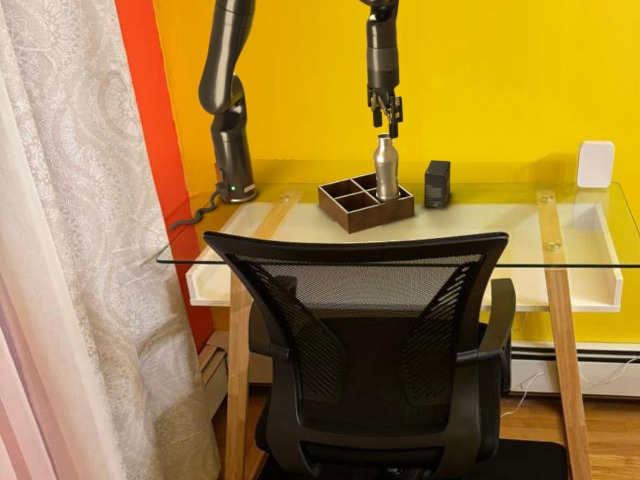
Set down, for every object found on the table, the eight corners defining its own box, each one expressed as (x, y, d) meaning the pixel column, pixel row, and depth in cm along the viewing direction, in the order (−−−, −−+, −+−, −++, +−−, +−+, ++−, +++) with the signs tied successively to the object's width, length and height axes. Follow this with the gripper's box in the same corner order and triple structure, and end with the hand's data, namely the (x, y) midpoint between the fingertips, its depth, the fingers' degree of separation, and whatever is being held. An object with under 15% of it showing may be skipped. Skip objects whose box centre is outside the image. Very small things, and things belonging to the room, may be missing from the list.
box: (444, 209, 206) (444, 175, 200) (423, 207, 207) (423, 173, 202) (450, 193, 213) (451, 160, 208) (430, 192, 214) (430, 159, 209)
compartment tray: (348, 233, 197) (347, 213, 193) (319, 205, 210) (317, 186, 207) (414, 216, 203) (414, 196, 200) (382, 189, 217) (381, 170, 213)
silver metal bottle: (399, 216, 202) (396, 141, 190) (373, 215, 203) (368, 140, 191) (404, 205, 207) (401, 131, 195) (379, 204, 208) (374, 130, 196)
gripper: (355, 59, 186) (359, 126, 196) (382, 75, 176) (385, 145, 186) (383, 54, 189) (386, 120, 199) (411, 69, 179) (413, 138, 188)
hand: (385, 132), depth 192 cm, fingers open, 8 cm apart
